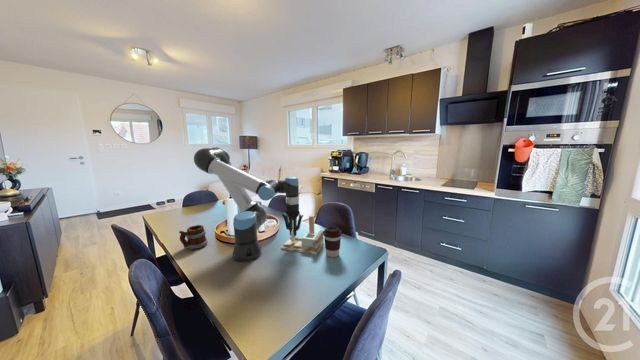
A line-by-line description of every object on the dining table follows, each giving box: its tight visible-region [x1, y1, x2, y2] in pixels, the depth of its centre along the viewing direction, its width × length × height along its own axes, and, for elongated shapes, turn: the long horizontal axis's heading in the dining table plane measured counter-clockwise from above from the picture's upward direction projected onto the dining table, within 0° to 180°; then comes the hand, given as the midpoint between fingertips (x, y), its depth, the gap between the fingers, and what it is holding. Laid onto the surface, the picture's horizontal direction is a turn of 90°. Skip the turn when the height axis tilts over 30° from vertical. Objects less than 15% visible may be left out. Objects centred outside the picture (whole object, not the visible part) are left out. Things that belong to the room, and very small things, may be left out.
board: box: [280, 229, 325, 255], centre depth 130 cm, size 22×14×8 cm, turn 73°
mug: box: [178, 224, 209, 251], centre depth 130 cm, size 12×14×15 cm
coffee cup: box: [323, 226, 343, 258], centre depth 119 cm, size 10×10×15 cm
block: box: [301, 232, 318, 248], centre depth 128 cm, size 8×8×6 cm
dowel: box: [308, 215, 315, 234], centre depth 139 cm, size 3×3×15 cm
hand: (293, 240), depth 132 cm, fingers closed
